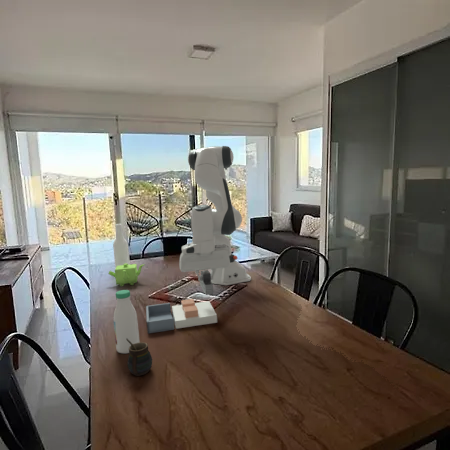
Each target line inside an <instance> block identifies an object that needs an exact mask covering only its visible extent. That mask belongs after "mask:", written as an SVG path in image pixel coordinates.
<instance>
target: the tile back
mask: <svg viewBox="0 0 450 450" xmlns="http://www.w3.org/2000/svg"><path fill="white" fill-rule="evenodd" d="M180 301H181V303H180V305H182V309H183V310H184V308H183V307H189V306H195V303H196V302H195V300H194V299H193V298H190V299H183V300H180Z"/></svg>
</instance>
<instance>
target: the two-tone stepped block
mask: <svg viewBox="0 0 450 450" xmlns="http://www.w3.org/2000/svg"><path fill="white" fill-rule="evenodd" d="M199 276H202V280H203V281H199V286H200V287H201V289H202V291H203V293H204V295H205V296H210V295H214V284H213V283H212V282H211V271H209V269H208V270H200V274H199Z"/></svg>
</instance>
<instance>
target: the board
mask: <svg viewBox="0 0 450 450" xmlns="http://www.w3.org/2000/svg"><path fill="white" fill-rule="evenodd" d="M195 306H196V307H197V309H198V316H196V317H189V318H185V315H184V310H183V309H182V304H178V305H177V304H176V305H172V306H171V311H172V312H171V315H172V318H174V328H175V329H182V328H190V327H195V326H196V327H197V326H202V325H204V326H205V325H210V324H216V323H218V315H217V313H216V311H215V309H214V307H213V305H212V303H211V302H210V300H208V301H200V302H195Z"/></svg>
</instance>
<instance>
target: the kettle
mask: <svg viewBox="0 0 450 450" xmlns="http://www.w3.org/2000/svg"><path fill="white" fill-rule="evenodd" d="M144 266H145V264H140V265H139V267H137V263H133V264H131V263H130V265H128V264H123V265H119V266H117V267H116V268H115V269H114V271H112V270H109V271H108V275H110V276H112V277H113V278H115V285H119V287H124V286H125V284H126V285H127V284H129V286H134V285H135V283H138V280H139V279H138V278H139V276H140V274H141V272H142V268H143V267H144Z"/></svg>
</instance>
